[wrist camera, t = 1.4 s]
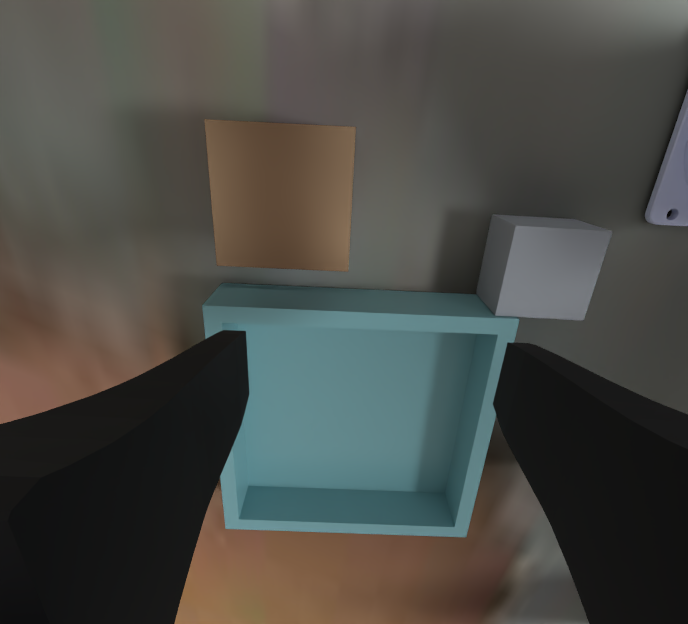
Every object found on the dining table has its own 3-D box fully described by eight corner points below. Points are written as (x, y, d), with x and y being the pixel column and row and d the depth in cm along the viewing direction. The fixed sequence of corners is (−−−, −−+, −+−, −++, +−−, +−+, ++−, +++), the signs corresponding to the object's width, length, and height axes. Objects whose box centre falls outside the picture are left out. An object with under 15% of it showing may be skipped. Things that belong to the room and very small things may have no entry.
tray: (495, 295, 20) (519, 319, 17) (453, 494, 26) (466, 537, 23) (221, 283, 20) (202, 305, 17) (238, 487, 25) (225, 528, 23)
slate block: (573, 218, 19) (612, 231, 16) (551, 296, 20) (583, 320, 18) (490, 213, 19) (515, 225, 16) (475, 292, 20) (495, 315, 17)
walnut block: (352, 132, 17) (356, 126, 12) (347, 234, 19) (348, 271, 13) (250, 127, 17) (204, 119, 12) (254, 230, 19) (216, 265, 13)
